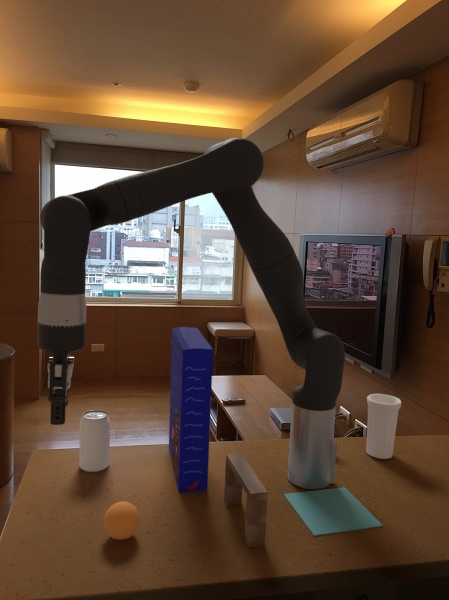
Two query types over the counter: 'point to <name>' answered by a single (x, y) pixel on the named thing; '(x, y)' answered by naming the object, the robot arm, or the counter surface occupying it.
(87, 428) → the can
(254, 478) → the bridge
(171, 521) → the counter surface
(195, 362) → the cereal box
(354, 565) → the counter surface
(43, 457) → the counter surface
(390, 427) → the cup
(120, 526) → the ball
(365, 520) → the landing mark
